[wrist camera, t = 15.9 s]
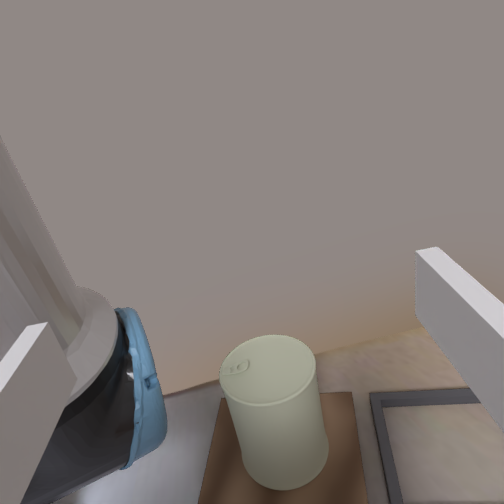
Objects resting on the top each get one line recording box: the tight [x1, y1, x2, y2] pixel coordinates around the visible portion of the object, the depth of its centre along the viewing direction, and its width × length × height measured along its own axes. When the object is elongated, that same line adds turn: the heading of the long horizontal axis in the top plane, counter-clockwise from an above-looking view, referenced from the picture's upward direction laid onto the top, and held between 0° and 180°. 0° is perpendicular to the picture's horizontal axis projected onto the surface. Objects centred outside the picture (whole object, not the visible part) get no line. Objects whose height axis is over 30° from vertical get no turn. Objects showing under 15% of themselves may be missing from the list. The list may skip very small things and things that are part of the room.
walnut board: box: [198, 392, 368, 504], centre depth 42 cm, size 16×14×1 cm
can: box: [219, 335, 329, 490], centre depth 39 cm, size 9×9×12 cm
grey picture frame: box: [370, 388, 481, 504], centre depth 38 cm, size 14×14×1 cm
